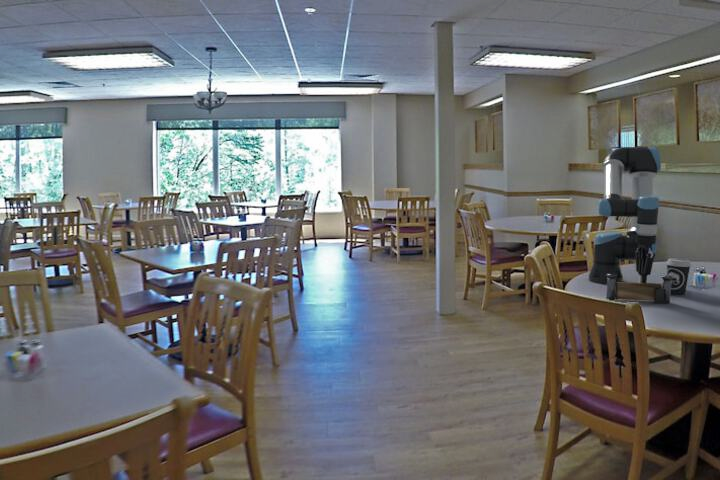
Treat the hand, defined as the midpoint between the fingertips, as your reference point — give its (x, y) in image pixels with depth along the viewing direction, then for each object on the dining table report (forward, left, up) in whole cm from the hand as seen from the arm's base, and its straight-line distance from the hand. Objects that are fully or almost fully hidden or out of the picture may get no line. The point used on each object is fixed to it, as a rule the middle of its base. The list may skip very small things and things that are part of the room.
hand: (641, 290), depth 231 cm
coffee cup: (-13, +17, -4) cm, 22 cm away
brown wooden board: (+3, -2, -4) cm, 5 cm away
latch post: (+3, +7, -4) cm, 9 cm away
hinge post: (+3, -12, -4) cm, 13 cm away
